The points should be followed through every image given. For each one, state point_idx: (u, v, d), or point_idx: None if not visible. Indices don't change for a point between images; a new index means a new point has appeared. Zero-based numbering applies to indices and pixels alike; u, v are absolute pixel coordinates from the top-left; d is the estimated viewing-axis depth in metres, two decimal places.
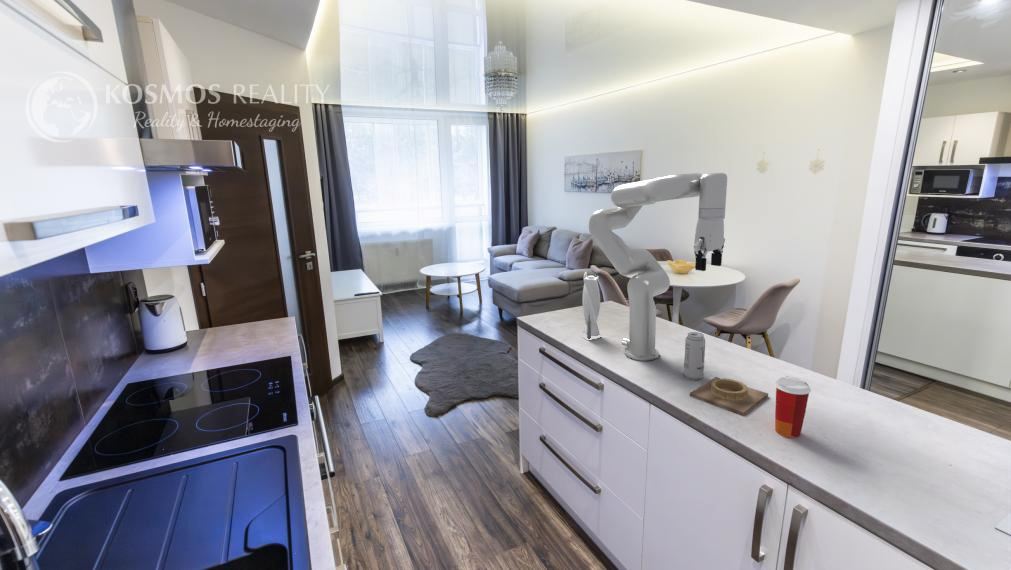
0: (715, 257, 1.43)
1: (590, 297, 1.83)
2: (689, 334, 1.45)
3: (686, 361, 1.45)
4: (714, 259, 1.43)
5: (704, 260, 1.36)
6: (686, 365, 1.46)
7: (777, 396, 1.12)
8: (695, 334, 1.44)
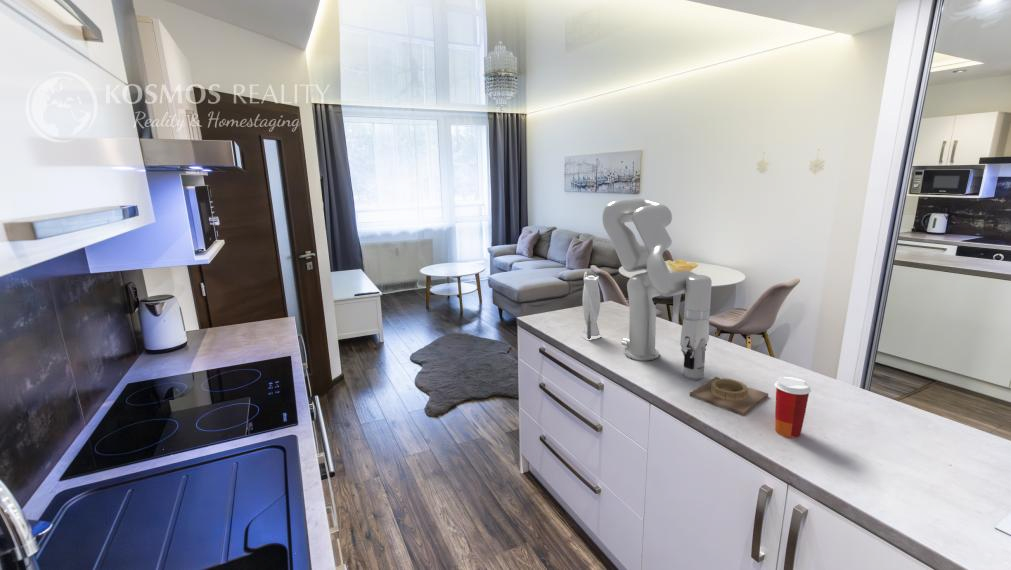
0: None
1: (590, 297, 1.83)
2: None
3: None
4: None
5: (692, 359, 1.43)
6: None
7: (777, 396, 1.12)
8: None
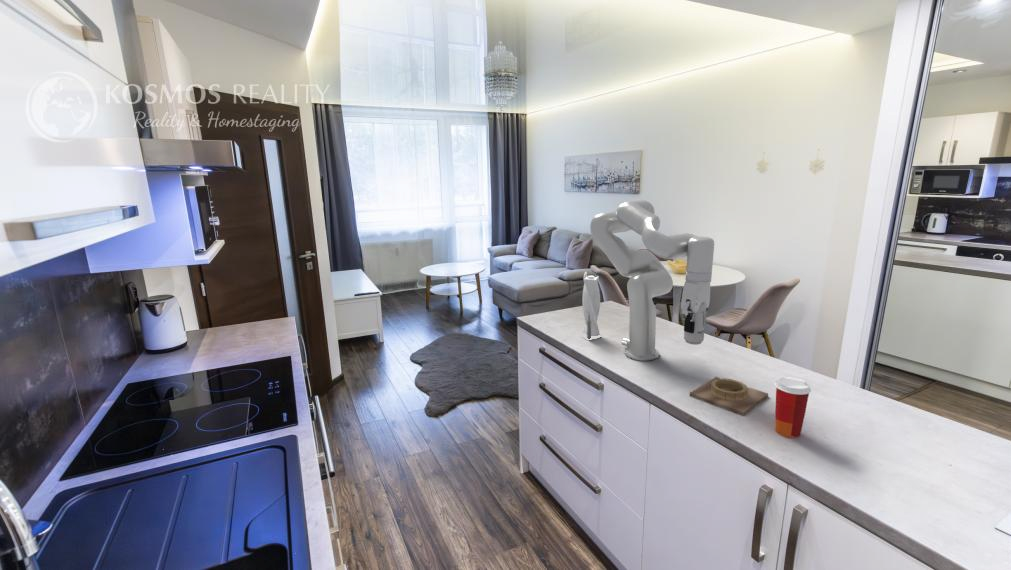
0: None
1: (590, 297, 1.83)
2: None
3: None
4: None
5: (692, 323, 1.40)
6: None
7: (777, 396, 1.12)
8: None
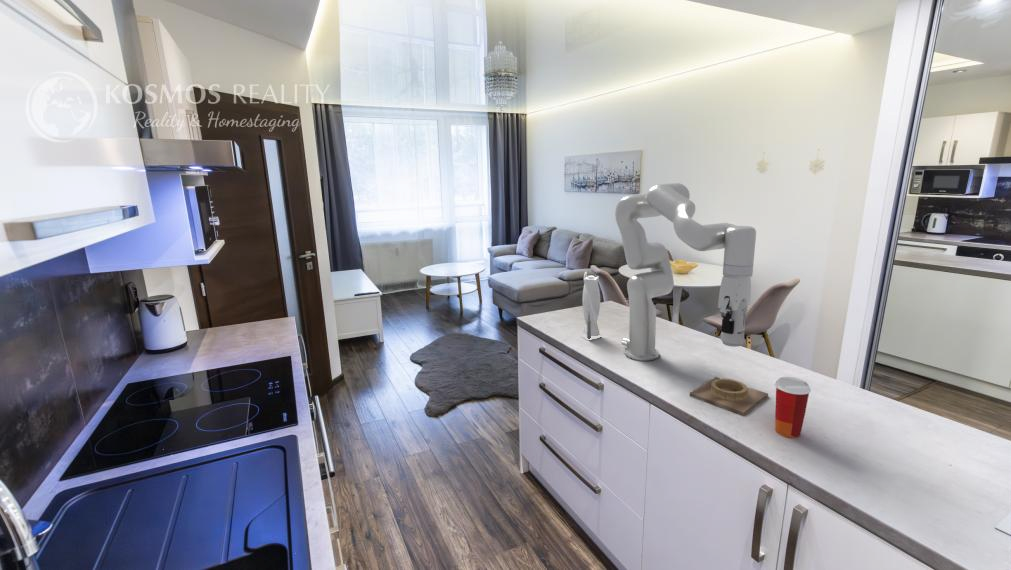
0: None
1: (590, 297, 1.83)
2: None
3: None
4: None
5: (732, 323, 1.25)
6: None
7: (777, 396, 1.12)
8: None
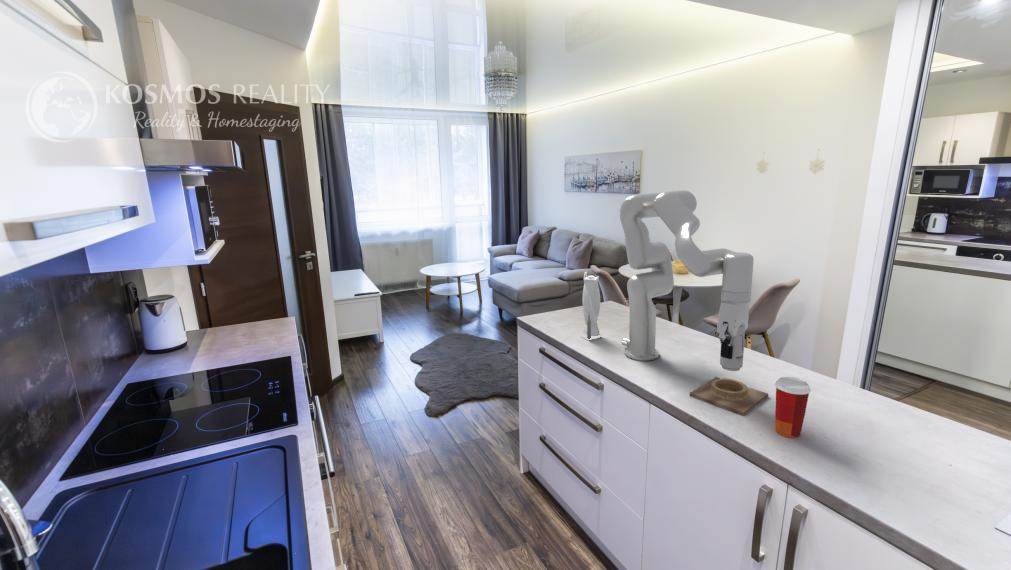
0: None
1: (590, 297, 1.83)
2: None
3: None
4: None
5: (730, 348, 1.27)
6: None
7: (777, 396, 1.12)
8: None
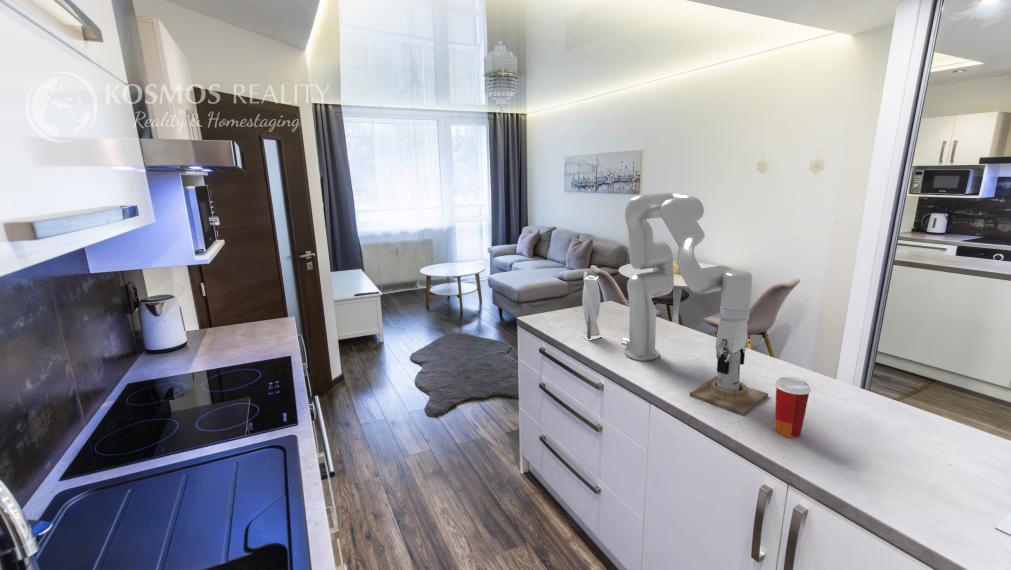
0: None
1: (590, 297, 1.83)
2: None
3: (720, 376, 1.31)
4: None
5: (727, 363, 1.27)
6: (720, 380, 1.32)
7: (777, 396, 1.12)
8: None
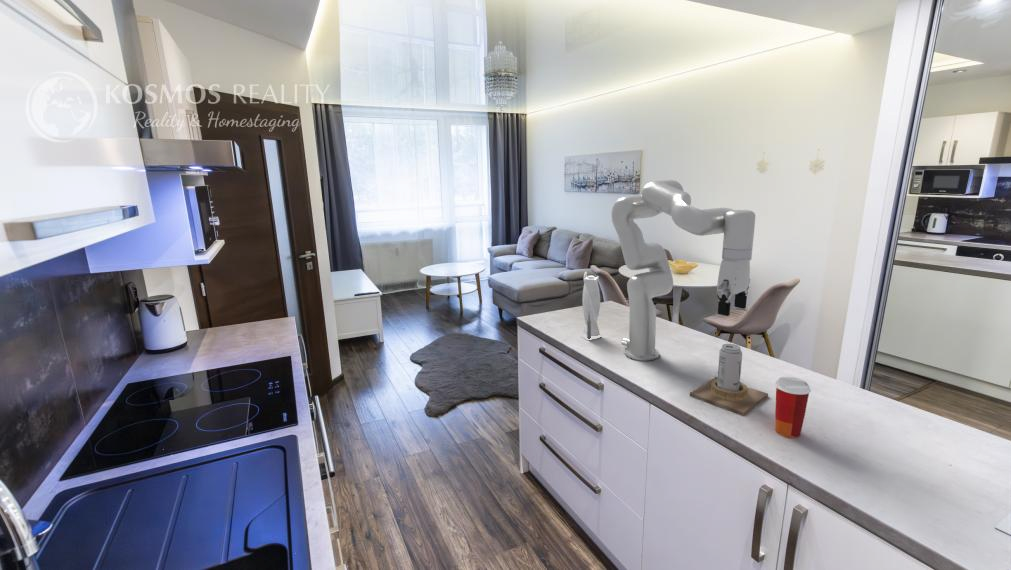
0: (739, 299, 1.32)
1: (590, 297, 1.83)
2: (724, 346, 1.31)
3: (720, 376, 1.31)
4: (738, 301, 1.32)
5: (728, 305, 1.25)
6: (720, 380, 1.32)
7: (777, 396, 1.12)
8: (730, 346, 1.30)
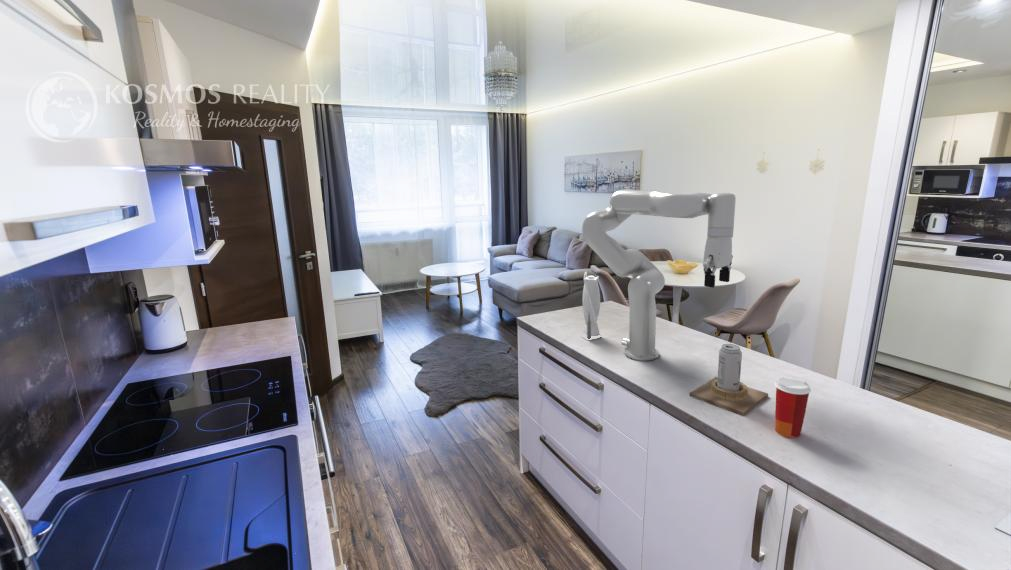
0: (723, 273, 1.48)
1: (590, 297, 1.83)
2: (723, 346, 1.31)
3: (720, 376, 1.31)
4: (722, 275, 1.48)
5: (713, 277, 1.41)
6: (720, 381, 1.32)
7: (777, 396, 1.12)
8: (730, 346, 1.30)
